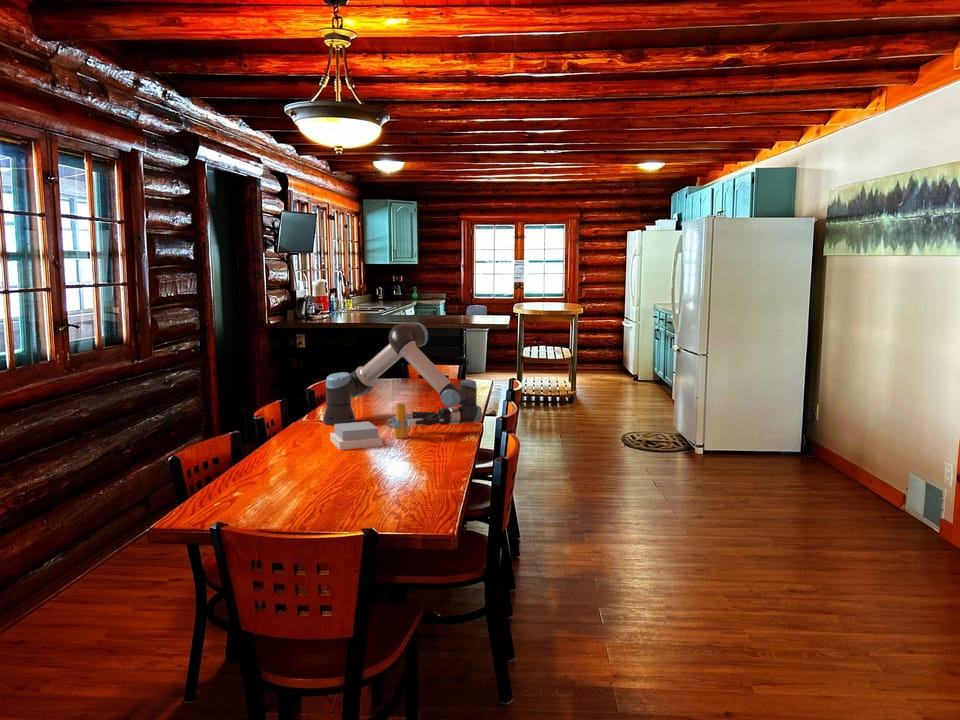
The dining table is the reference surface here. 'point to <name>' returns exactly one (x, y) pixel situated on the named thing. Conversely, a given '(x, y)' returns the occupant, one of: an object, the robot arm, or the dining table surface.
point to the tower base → (355, 442)
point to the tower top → (356, 431)
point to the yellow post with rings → (400, 422)
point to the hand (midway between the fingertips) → (403, 419)
